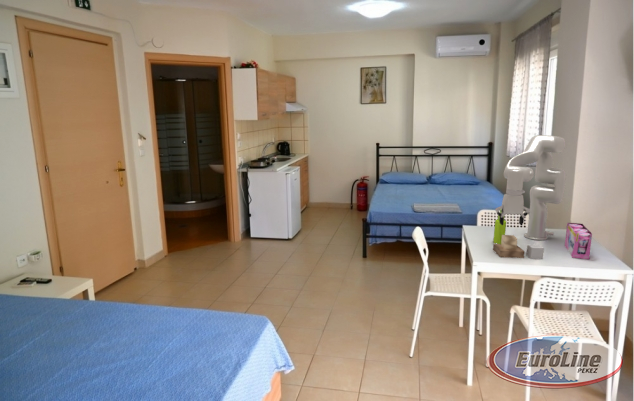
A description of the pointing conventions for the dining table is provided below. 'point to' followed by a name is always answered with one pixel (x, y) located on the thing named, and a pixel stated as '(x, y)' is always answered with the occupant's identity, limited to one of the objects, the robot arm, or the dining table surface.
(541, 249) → the grey cube
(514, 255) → the walnut block
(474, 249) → the dining table surface
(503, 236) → the maple cube
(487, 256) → the dining table surface
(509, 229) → the dining table surface
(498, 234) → the soap dispenser
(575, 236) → the gum box
